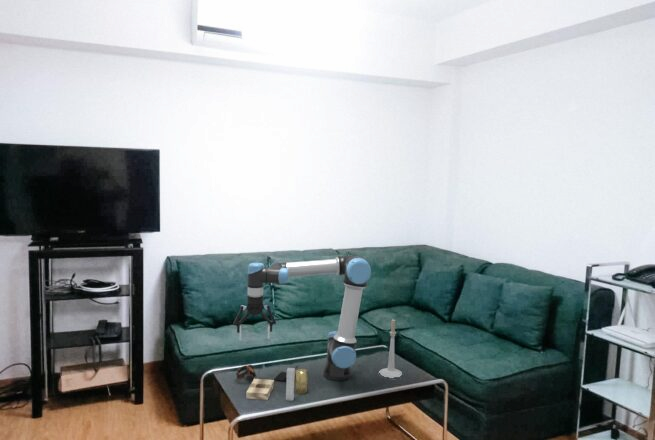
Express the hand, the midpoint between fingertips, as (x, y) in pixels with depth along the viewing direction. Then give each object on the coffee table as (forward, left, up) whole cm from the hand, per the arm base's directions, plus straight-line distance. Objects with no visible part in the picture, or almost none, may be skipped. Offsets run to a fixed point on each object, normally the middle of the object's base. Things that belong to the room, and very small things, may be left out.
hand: (254, 338), depth 242 cm
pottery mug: (+5, -8, -24) cm, 26 cm away
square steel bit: (-20, +10, -24) cm, 33 cm away
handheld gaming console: (-14, -14, -24) cm, 31 cm away
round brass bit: (-24, +1, -24) cm, 34 cm away
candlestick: (-68, -28, -24) cm, 77 cm away
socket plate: (-5, +5, -24) cm, 25 cm away
